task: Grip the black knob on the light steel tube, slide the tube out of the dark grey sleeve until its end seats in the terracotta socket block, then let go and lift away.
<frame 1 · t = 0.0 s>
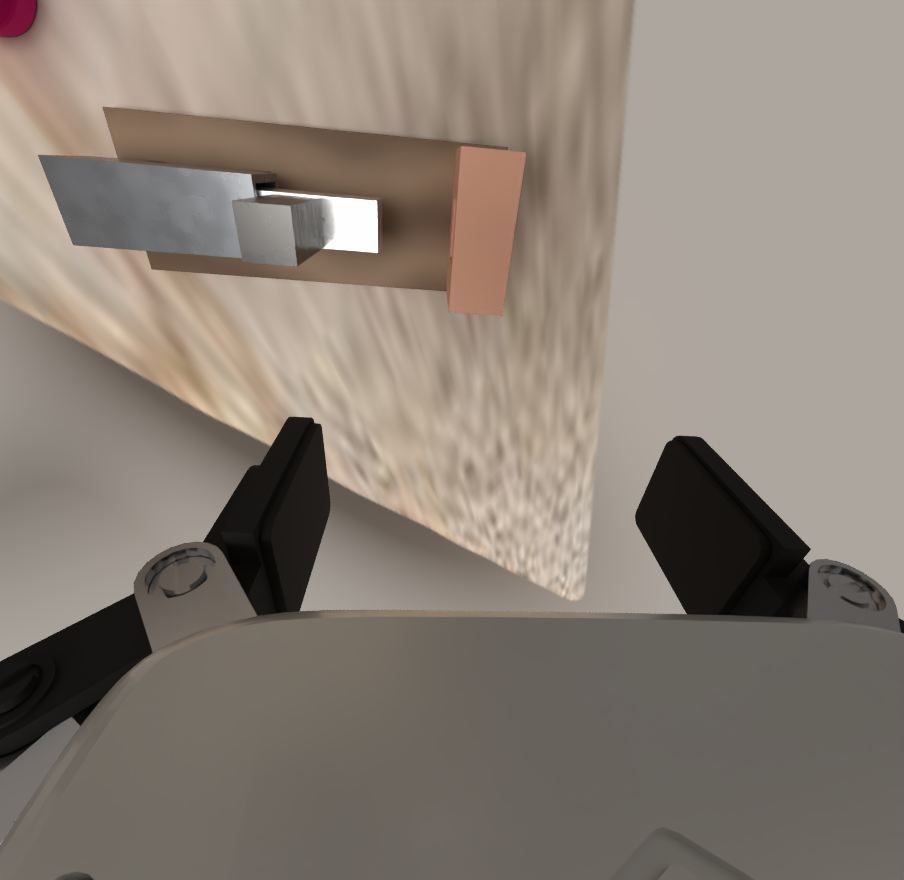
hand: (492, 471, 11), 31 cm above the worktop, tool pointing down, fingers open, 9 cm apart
base board: (323, 210, 35), on the worktop
socket block: (473, 223, 36), resting on base board
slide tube: (223, 218, 26), point 10 cm above the worktop, slide at 0.0 cm
outer sleeve: (219, 201, 34), resting on base board
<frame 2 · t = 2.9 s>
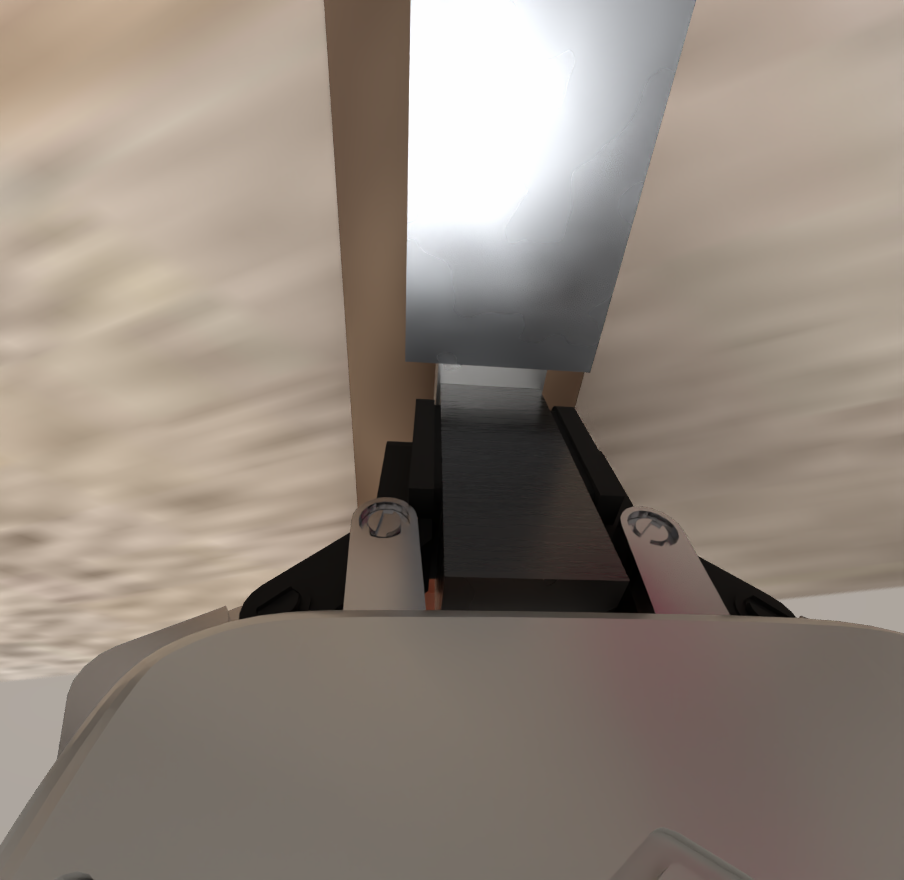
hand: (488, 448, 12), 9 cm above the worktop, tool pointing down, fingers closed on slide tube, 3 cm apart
base board: (468, 334, 20), on the worktop
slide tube: (515, 309, 9), point 10 cm above the worktop, slide at 0.0 cm, touching gripper
outer sleeve: (491, 108, 15), resting on base board
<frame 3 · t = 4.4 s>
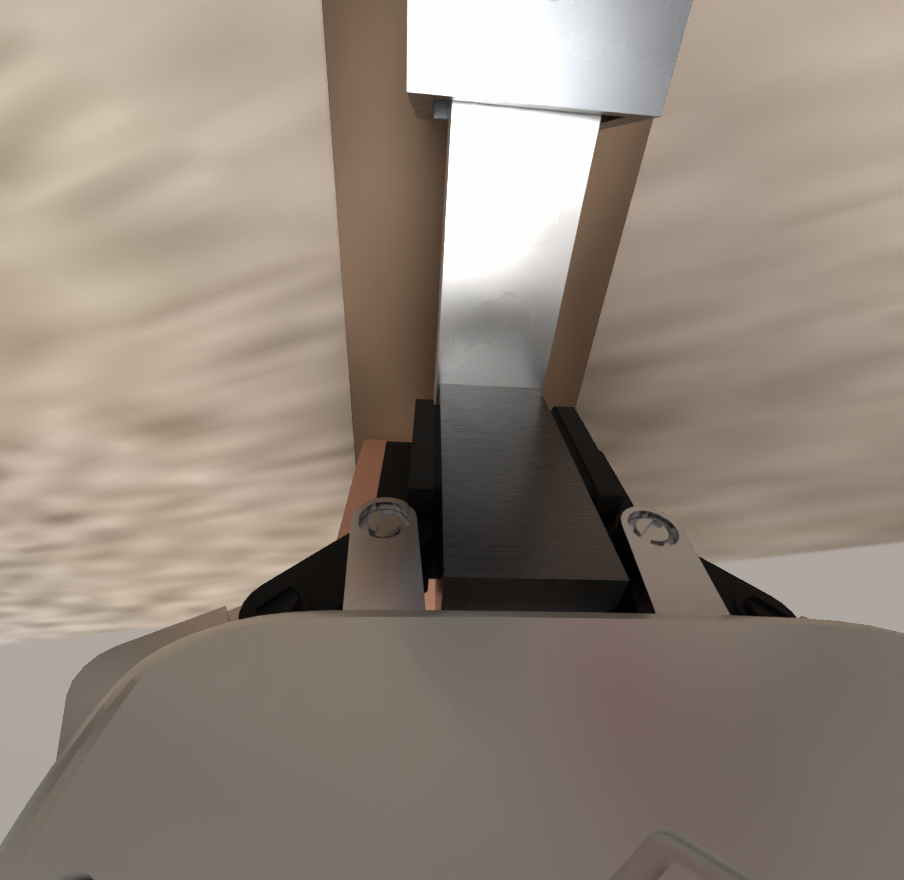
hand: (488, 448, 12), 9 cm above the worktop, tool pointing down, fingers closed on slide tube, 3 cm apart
base board: (480, 203, 17), on the worktop
socket block: (456, 457, 24), resting on base board
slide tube: (514, 309, 9), point 10 cm above the worktop, slide at 5.5 cm, touching gripper
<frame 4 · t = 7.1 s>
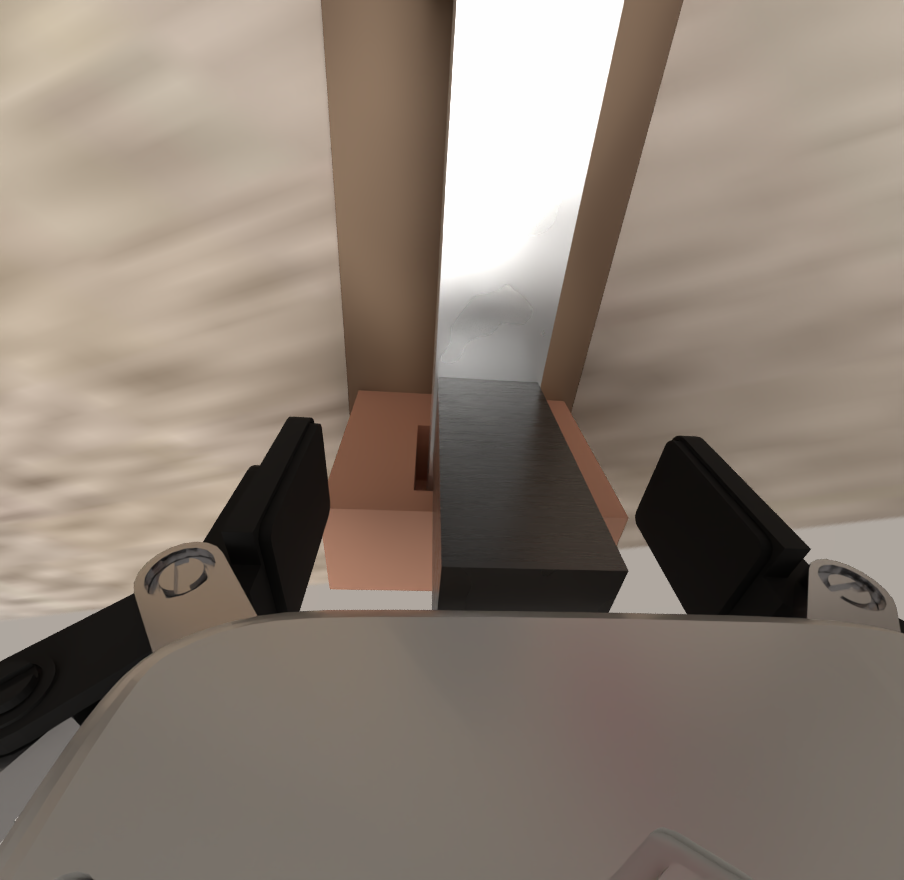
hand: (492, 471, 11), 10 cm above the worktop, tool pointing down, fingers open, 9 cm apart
base board: (487, 118, 15), on the worktop
socket block: (458, 415, 22), resting on base board
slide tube: (513, 300, 9), point 10 cm above the worktop, slide at 8.0 cm
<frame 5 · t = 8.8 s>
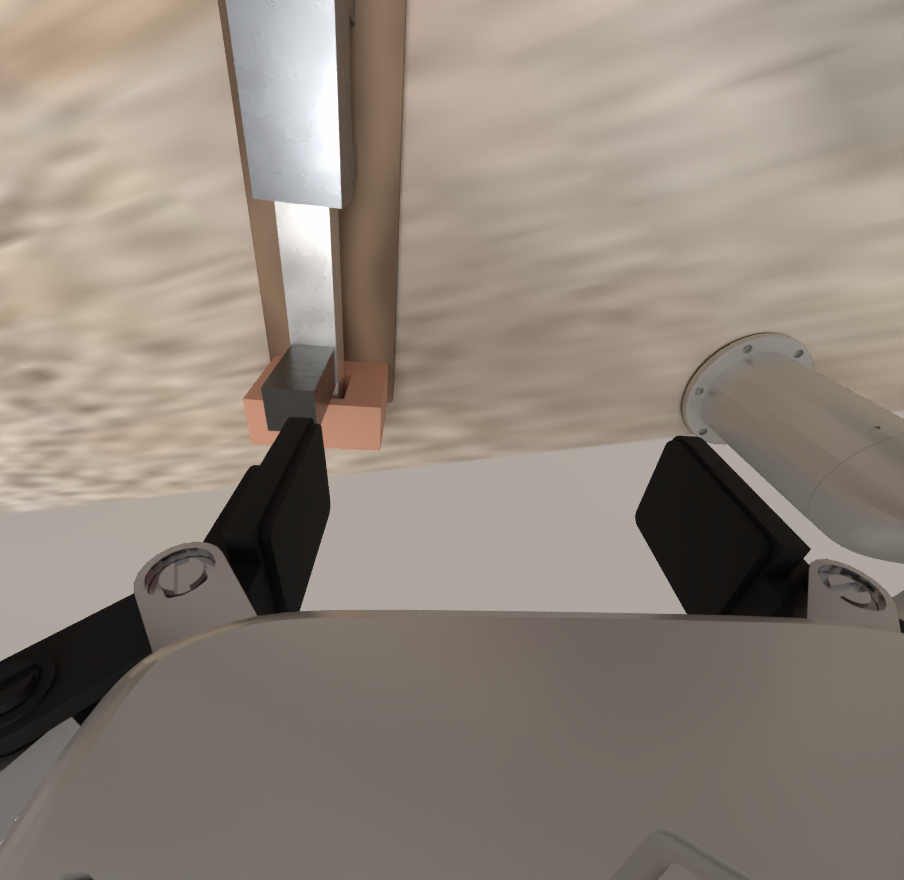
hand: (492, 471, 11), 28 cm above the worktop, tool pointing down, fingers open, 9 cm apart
base board: (328, 226, 33), on the worktop
socket block: (336, 373, 40), resting on base board
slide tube: (303, 314, 27), point 10 cm above the worktop, slide at 8.0 cm
outer sleeve: (321, 87, 28), resting on base board
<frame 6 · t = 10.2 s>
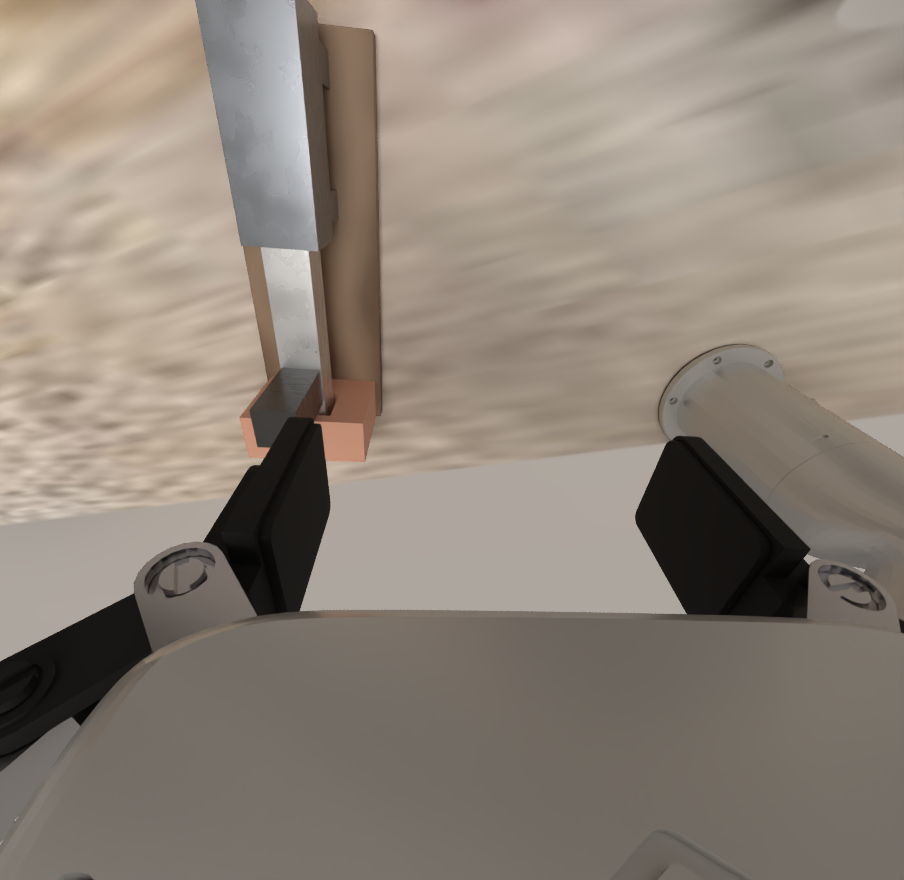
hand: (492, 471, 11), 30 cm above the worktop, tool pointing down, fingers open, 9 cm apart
base board: (316, 259, 36), on the worktop
socket block: (329, 389, 43), resting on base board
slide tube: (289, 343, 30), point 10 cm above the worktop, slide at 8.0 cm
outer sleeve: (304, 140, 31), resting on base board
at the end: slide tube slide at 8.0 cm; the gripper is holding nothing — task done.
